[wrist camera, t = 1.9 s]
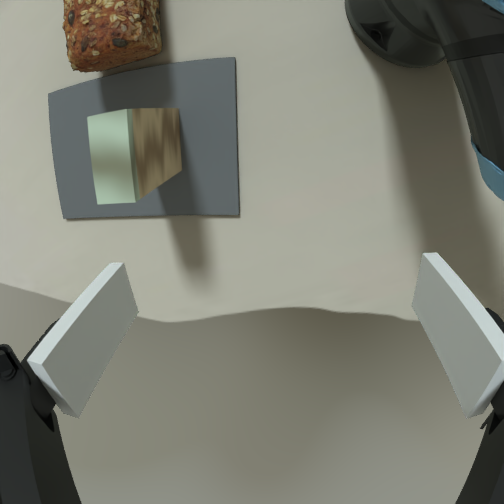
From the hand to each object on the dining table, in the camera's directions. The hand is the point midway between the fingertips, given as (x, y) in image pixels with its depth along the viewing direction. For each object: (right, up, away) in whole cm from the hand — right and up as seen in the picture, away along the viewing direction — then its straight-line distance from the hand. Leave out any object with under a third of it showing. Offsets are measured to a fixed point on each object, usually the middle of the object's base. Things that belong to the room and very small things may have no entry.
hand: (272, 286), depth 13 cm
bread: (-17, +34, +15) cm, 41 cm away
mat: (-17, +16, +24) cm, 33 cm away
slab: (-12, +15, +23) cm, 30 cm away
